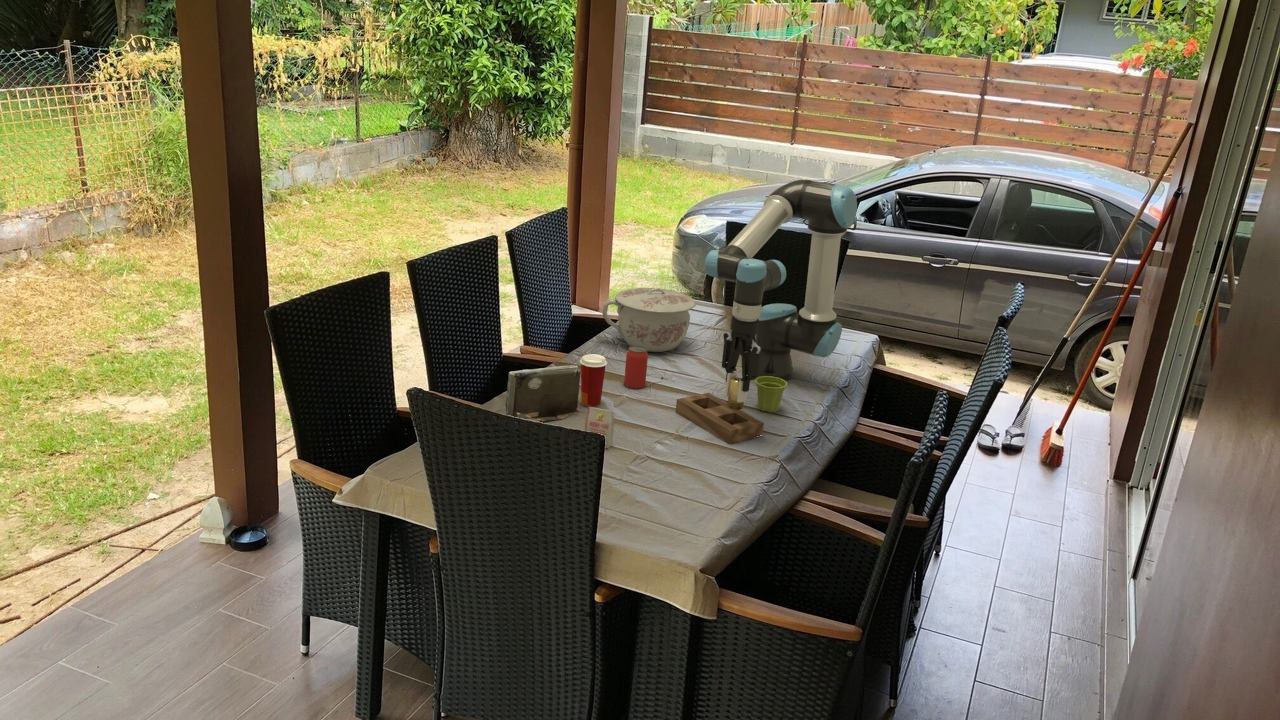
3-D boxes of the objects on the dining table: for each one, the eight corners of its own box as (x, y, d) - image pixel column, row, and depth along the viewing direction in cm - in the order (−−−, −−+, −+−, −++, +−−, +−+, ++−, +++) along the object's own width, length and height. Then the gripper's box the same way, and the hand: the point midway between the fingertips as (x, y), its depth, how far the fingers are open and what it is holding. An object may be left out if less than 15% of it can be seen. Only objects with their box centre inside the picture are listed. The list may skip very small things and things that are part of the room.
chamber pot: (705, 345, 338) (711, 288, 331) (664, 366, 316) (670, 305, 309) (638, 327, 351) (642, 272, 344) (594, 345, 329) (598, 286, 322)
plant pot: (763, 416, 283) (767, 389, 280) (745, 404, 290) (749, 377, 287) (789, 413, 287) (793, 385, 284) (771, 401, 295) (775, 374, 292)
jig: (707, 405, 288) (708, 392, 286) (762, 436, 270) (763, 422, 268) (675, 411, 281) (676, 399, 279) (729, 444, 263) (730, 430, 261)
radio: (575, 405, 280) (578, 356, 275) (588, 416, 273) (592, 367, 268) (499, 416, 268) (501, 366, 263) (512, 428, 261) (514, 377, 256)
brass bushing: (735, 402, 271) (739, 375, 268) (746, 408, 268) (750, 381, 265) (724, 405, 268) (727, 378, 266) (734, 410, 265) (738, 383, 262)
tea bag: (588, 438, 259) (590, 404, 256) (612, 443, 257) (615, 408, 254) (583, 444, 256) (586, 409, 252) (608, 448, 254) (610, 413, 251)
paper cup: (607, 401, 284) (611, 356, 279) (598, 410, 277) (601, 364, 273) (583, 396, 286) (585, 351, 282) (572, 404, 280) (575, 359, 275)
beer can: (642, 390, 294) (646, 353, 290) (621, 387, 295) (624, 350, 291) (647, 383, 300) (650, 346, 296) (626, 380, 301) (629, 343, 297)
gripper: (714, 309, 263) (705, 389, 271) (757, 328, 250) (746, 411, 258) (735, 306, 268) (725, 385, 276) (778, 325, 255) (767, 407, 263)
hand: (735, 397), depth 267 cm, fingers closed on brass bushing, 4 cm apart
